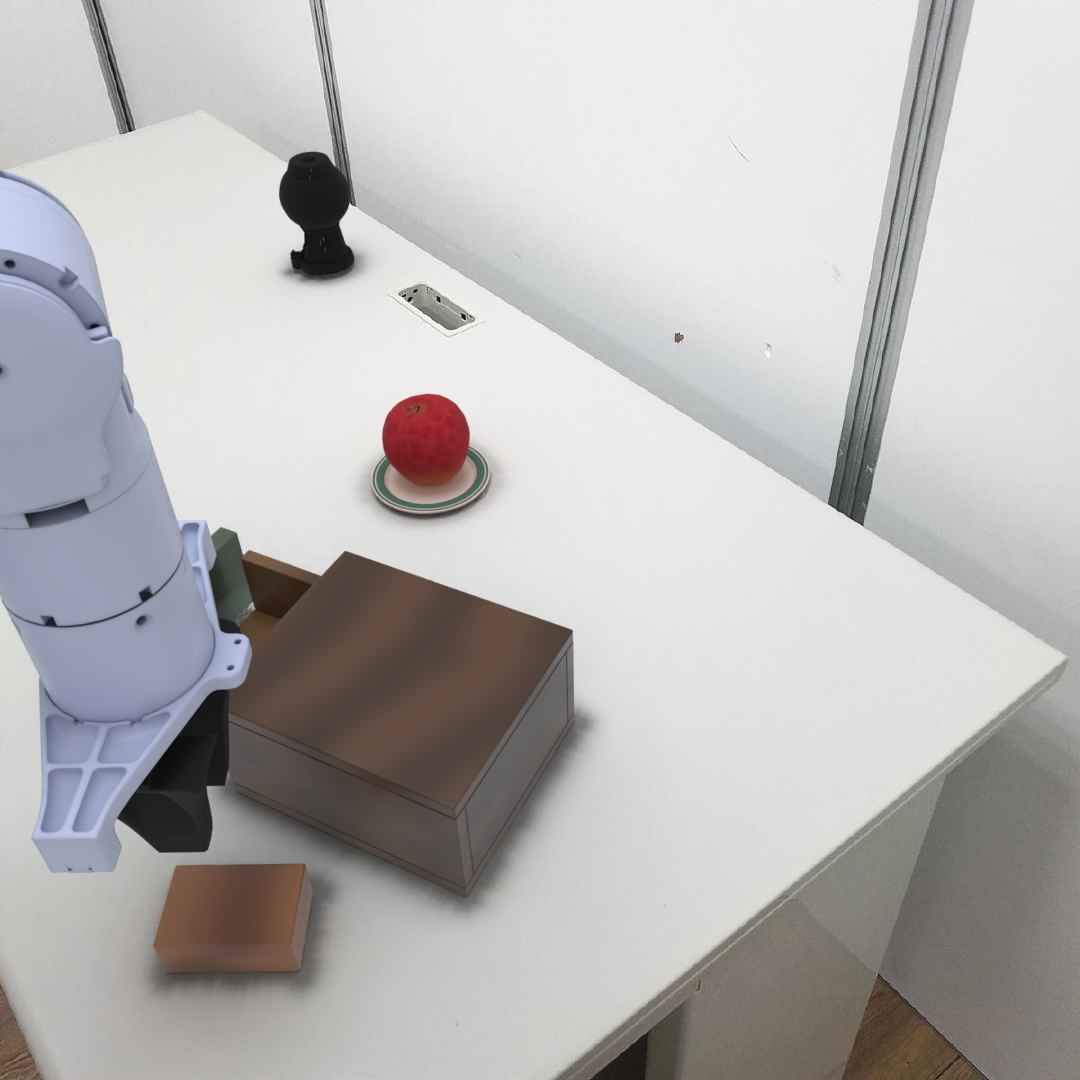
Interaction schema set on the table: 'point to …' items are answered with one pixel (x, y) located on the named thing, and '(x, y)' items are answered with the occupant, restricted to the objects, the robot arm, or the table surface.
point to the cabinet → (402, 717)
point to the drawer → (254, 585)
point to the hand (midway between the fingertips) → (193, 811)
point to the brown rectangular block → (235, 918)
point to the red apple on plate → (428, 457)
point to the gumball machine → (317, 212)
